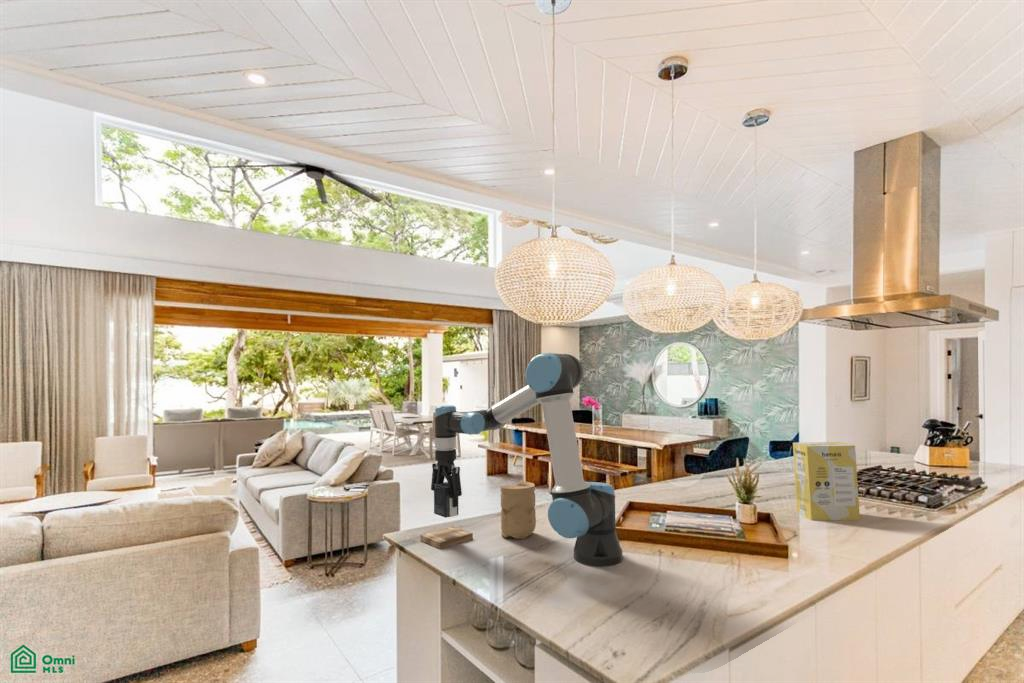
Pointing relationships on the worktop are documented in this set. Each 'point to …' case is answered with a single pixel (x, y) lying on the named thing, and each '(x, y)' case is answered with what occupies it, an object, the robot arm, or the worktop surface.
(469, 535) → the board
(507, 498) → the container
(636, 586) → the worktop surface
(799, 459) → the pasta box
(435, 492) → the box
